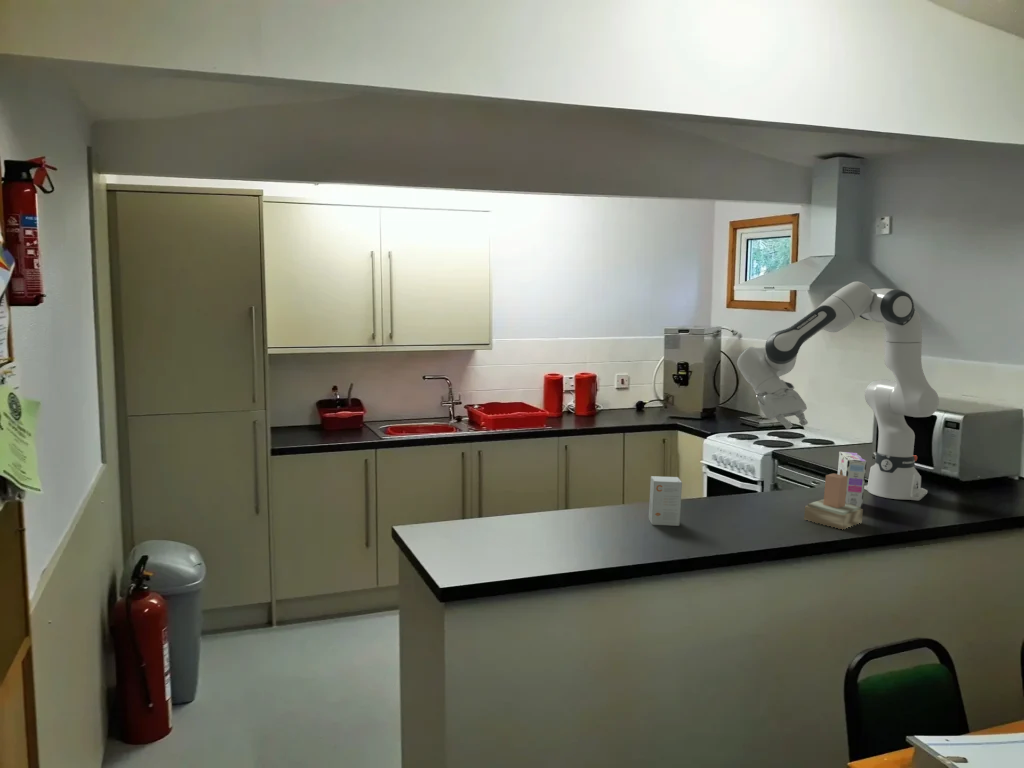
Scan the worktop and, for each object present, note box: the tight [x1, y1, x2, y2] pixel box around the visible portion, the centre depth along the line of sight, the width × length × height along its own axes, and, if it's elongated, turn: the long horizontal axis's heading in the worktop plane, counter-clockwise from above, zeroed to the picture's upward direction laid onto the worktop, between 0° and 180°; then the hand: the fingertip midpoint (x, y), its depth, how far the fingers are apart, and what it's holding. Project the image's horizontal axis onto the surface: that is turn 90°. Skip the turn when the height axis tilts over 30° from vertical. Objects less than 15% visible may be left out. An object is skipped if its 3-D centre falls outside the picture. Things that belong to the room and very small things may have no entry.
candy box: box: [837, 451, 867, 509], centre depth 260 cm, size 14×6×16 cm, turn 168°
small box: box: [648, 475, 683, 527], centre depth 234 cm, size 8×6×13 cm
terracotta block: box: [823, 473, 848, 508], centre depth 241 cm, size 4×4×9 cm
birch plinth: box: [803, 498, 864, 531], centre depth 242 cm, size 12×12×5 cm
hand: (797, 426), depth 254 cm, fingers open, 8 cm apart
